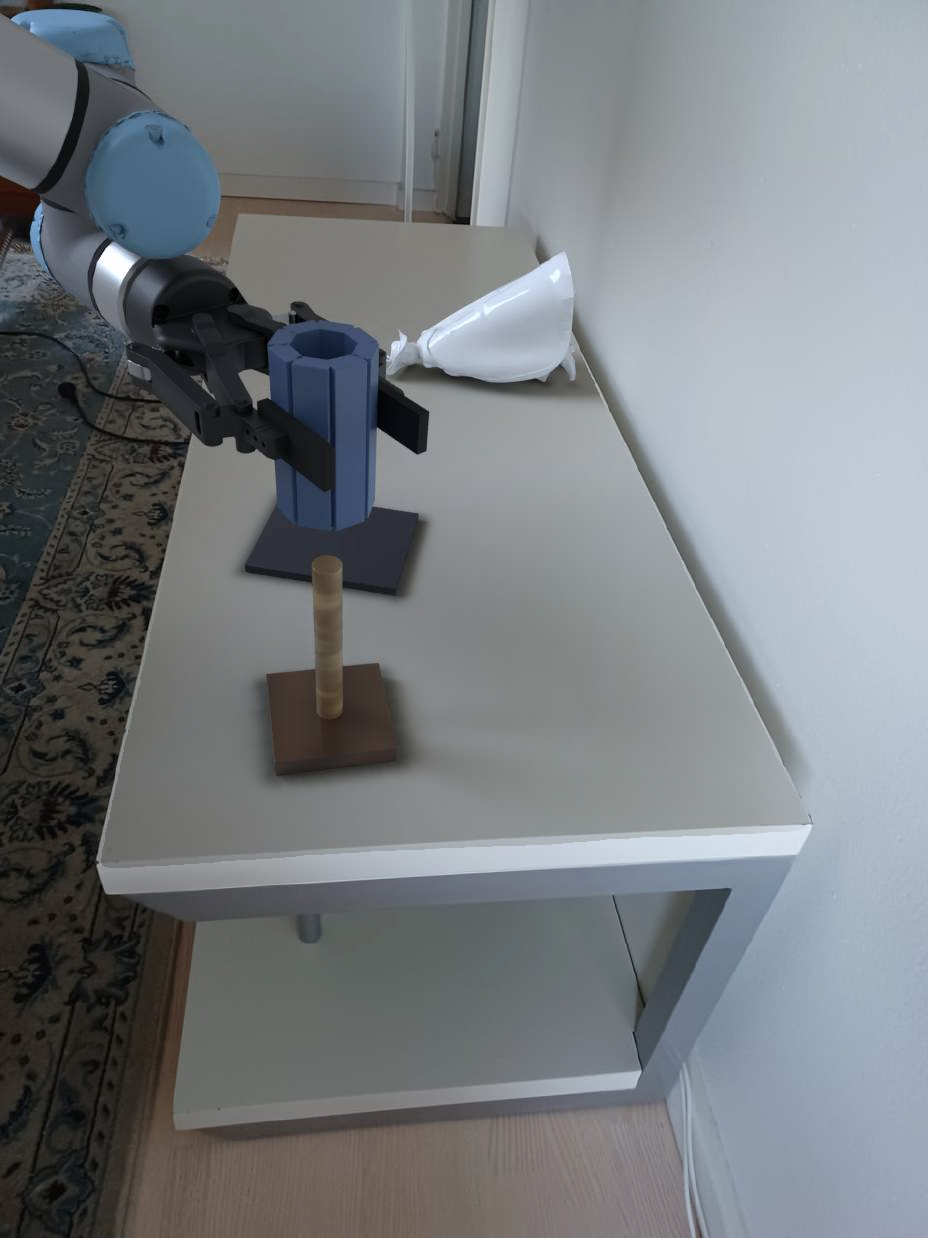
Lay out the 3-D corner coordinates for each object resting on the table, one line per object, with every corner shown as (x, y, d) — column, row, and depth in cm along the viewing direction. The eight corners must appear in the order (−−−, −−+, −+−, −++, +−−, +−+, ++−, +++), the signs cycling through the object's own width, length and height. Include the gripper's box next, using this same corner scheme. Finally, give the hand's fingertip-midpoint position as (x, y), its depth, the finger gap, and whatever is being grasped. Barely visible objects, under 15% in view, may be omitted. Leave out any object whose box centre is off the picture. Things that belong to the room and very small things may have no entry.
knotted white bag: (559, 363, 122) (373, 362, 119) (571, 237, 114) (372, 232, 110) (582, 396, 111) (378, 395, 108) (598, 259, 102) (377, 254, 99)
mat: (244, 571, 82) (244, 564, 82) (282, 498, 91) (282, 492, 91) (395, 595, 82) (395, 588, 81) (418, 519, 91) (419, 513, 90)
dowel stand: (275, 775, 66) (262, 615, 55) (266, 686, 72) (253, 528, 62) (397, 760, 68) (406, 603, 57) (378, 675, 74) (383, 519, 64)
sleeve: (267, 521, 57) (256, 358, 49) (294, 470, 61) (287, 314, 54) (361, 536, 56) (363, 374, 49) (381, 484, 61) (386, 329, 54)
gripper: (288, 325, 71) (490, 455, 60) (50, 390, 61) (238, 564, 49) (284, 227, 66) (503, 349, 55) (24, 280, 56) (226, 444, 44)
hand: (377, 450), depth 52 cm, fingers closed on sleeve, 6 cm apart
